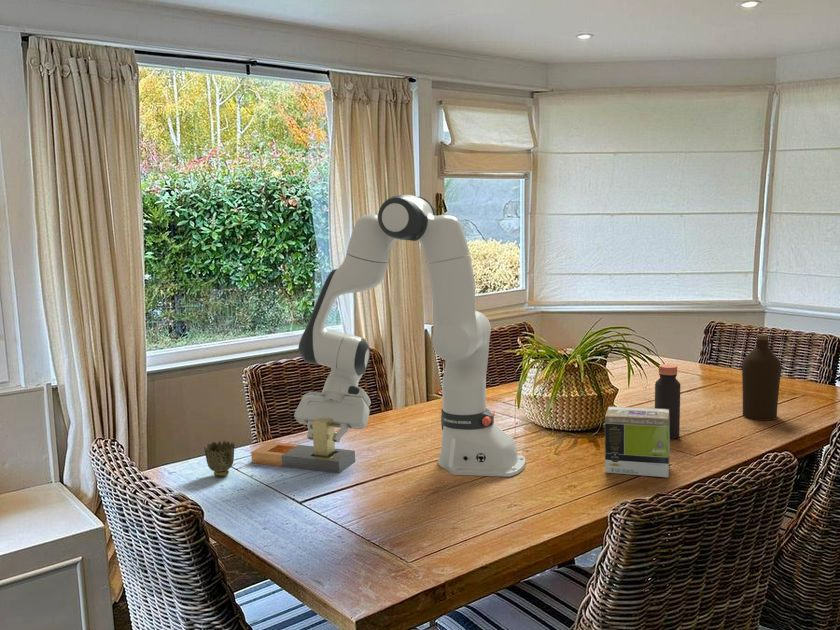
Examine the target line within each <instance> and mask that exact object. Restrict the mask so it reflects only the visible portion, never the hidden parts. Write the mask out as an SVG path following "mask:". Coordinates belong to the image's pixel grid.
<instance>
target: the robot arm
mask: <svg viewBox="0 0 840 630" xmlns="http://www.w3.org/2000/svg"><path fill="white" fill-rule="evenodd" d="M398 240H402V241H410V242H411V241H412V242H418V243H420V244H421V246H422V248H423V251H424V252H423V253H424V256H425V263H426V268H427V272H428V277H429V283H430V288H431V295H432V296H431V297H432V321H433V333H432V339H431V343H432V345H431V346H432V347H433V351H434V353H435V354H436V355H437V356H438V357H439V358H440V359H441V360H444V361H445V367H444V371H443V376H442V379H441V380H442V381H441V382H442V383H441V385H442V390H441V391H442V409H441V410H440V411H441V415H440V426H441V430H442V436H441V446H440V452H439V456H438V460H437V464H438V465H439V467H441V468H443V469H444V470H446V471H447V472H448V473H449V474H451V475H456V476H457V475H458V476H459V475H460V476H479V477H480V476H483V477H504V478H505V477H506V478H507V477H513V476H515V475H517V474H519V473H521V472H522V471H523V470H524V469H525V467H526V466H527V460H526V457H525V456H524V455H522V454H518V450H517V445H516V442H515V439H514V438H513V437H512V436H510V435H509V434H508V433H506V432H505V431H503V429H501V428H500V427H498V425H496V424H495V421H494V420H495V418H494V417H495V416H496V414H495V413H496V411H494V410H493V411H492V412H491V411H490V410H489V409H488V408H487V389H486V387H487V386H486V385H487V382H486V381H487V372H488V371H487V369H488V362H489V353H490V352H489V350H490V340H491V339H490V338H491V331H492V327H491V322H490V321H489V318H488V316H486V315H485V314H484V313H482V312H480V311H478V310H476V289H477V288H476V287H477V285H476V280H475V275H474V269H473V264H472V259H471V254H470V249H469V246H468V242H467V238H466V234H465V231H464V229H463V227H462V225H461V222H460V221H459V219H458V218H456V216H453V215H449V214H439V215H436V212H435V209H434V206H433V205H432V204H431V203H430V202H429V201H428V200H427V199H426V198H425V197H422V196H421V197H420V196H416V195H413V194H400V195H399V194H396V195H394V196H390V197H388V198H387V199H386V200H385V201H384V202H382V203H381V206H380V207H379V210H378V213H377V214H376V213H374V214H373V213H368V214H364V215H362V216H360V217H359V218H358V219H357V220H356V222H355V225H354V227H353V230H352V232H351V236H350V238H349V241H348V245H347V249H346V254H345V257H344V259H343V262H342V263H341V264H340V265H339V267H338V268H335V269H332V270H331V271H330V272H329V274H328V275H327V277H326V279H325V281H324V282H323V286H322V288H321V290H320V292H319V295H318V298H317V300H316V303H315V305H314V307H313V310H312V313H311V315H310V317H309V321H308V323H307V325H306V326H305V327H306V328H305V329H304V331H303V333H302V334H301V337H300V339H299V342H298V350H297V351H298V354H299V355H300V357H301V359H302V360H304V362H305V363H306V364H313V365H318V366H319V365H322V366H325V367H329V368H330V373H329V374H328V375H327V378H326V379H325V383H324V386H323V388H322V391H321V392H320V391H317V392H315V391H309V392H307V393H305V394H303V395H302V397H301V400H300V402H299V404H298V406H297V407H296V409H295V411H294V419H295V420H296V422H297V423H298V424H300V425H307V430H308V431H307V435H306V438H307V439H308V440H309V441H310V440H312V441H313V425H312V422H313V421H315V420H316V419H318V418H330V419H333V422H334V428H339V430H338V431H336V433H335V432H334V434H333V437H332V440H333V441H334V442H335V443H340V441H341V438H343V437H344V435H345V434H347V432H348V430H350V429H353V430H364V429H365V428H366V427H367V425H368V421H369V417H370V408H369V407H370V406H371V404H372V402H371V399H370V397H369V395H368V394H367V393H366V391H365V390H364V389H363V388H361V387H359V382H360V380H361V378H362V377H363V374H364V373H365V372H366V370H367V368H368V365H369V362H370V358H371V353H372V351H371V348H370V346H369V344H368V343H367V340H365V338H363V337H360V336H359V335H358V336H357V335H353V334H352V333H351V334H349V333H345V332H341V331H336V330H333V329H329V328H327V327H326V322H327V321H328V318H329V316H330V313H331V310H332V307H333V306H334V302H335V301H336V299H337V298H338V297H340V296H343V295H345V294H352V293H361V292H367V291H369V290H372V289H374V288H376V287H378V286H379V285H380V284H381V283H382V282H383V280H384V278H385V275H386V272H387V269H388V265H389V261H390V255H391V252H392V248H393V246H394V244H395V242H397V241H398Z"/></svg>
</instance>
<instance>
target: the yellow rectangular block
mask: <svg viewBox="0 0 840 630" xmlns="http://www.w3.org/2000/svg"><path fill="white" fill-rule="evenodd" d="M312 425H313V440H312V441H313V442H312V443H313V446H314V456H315V457H324V458H330V457H331V456H333V455H334V454H335V449H336V444H335V443H336V442H334V441H333V440H332V437H333V434H334V433H335V427H334V422H333V419H330V418H318V419H316V420H315V421H313V422H312Z"/></svg>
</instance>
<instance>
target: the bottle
mask: <svg viewBox="0 0 840 630" xmlns="http://www.w3.org/2000/svg"><path fill="white" fill-rule="evenodd" d="M658 376H659V378H658V379H657V380H656V381H655V383H654V408H657V409H669V434H670V440H671V439H677V438H678V437H680V430H681V429H680V425H681V421H680V420H681V416H680V415H681V382H679V380H678V379H677V377H678V365H677V364H671V363H663V364H659V365H658Z"/></svg>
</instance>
